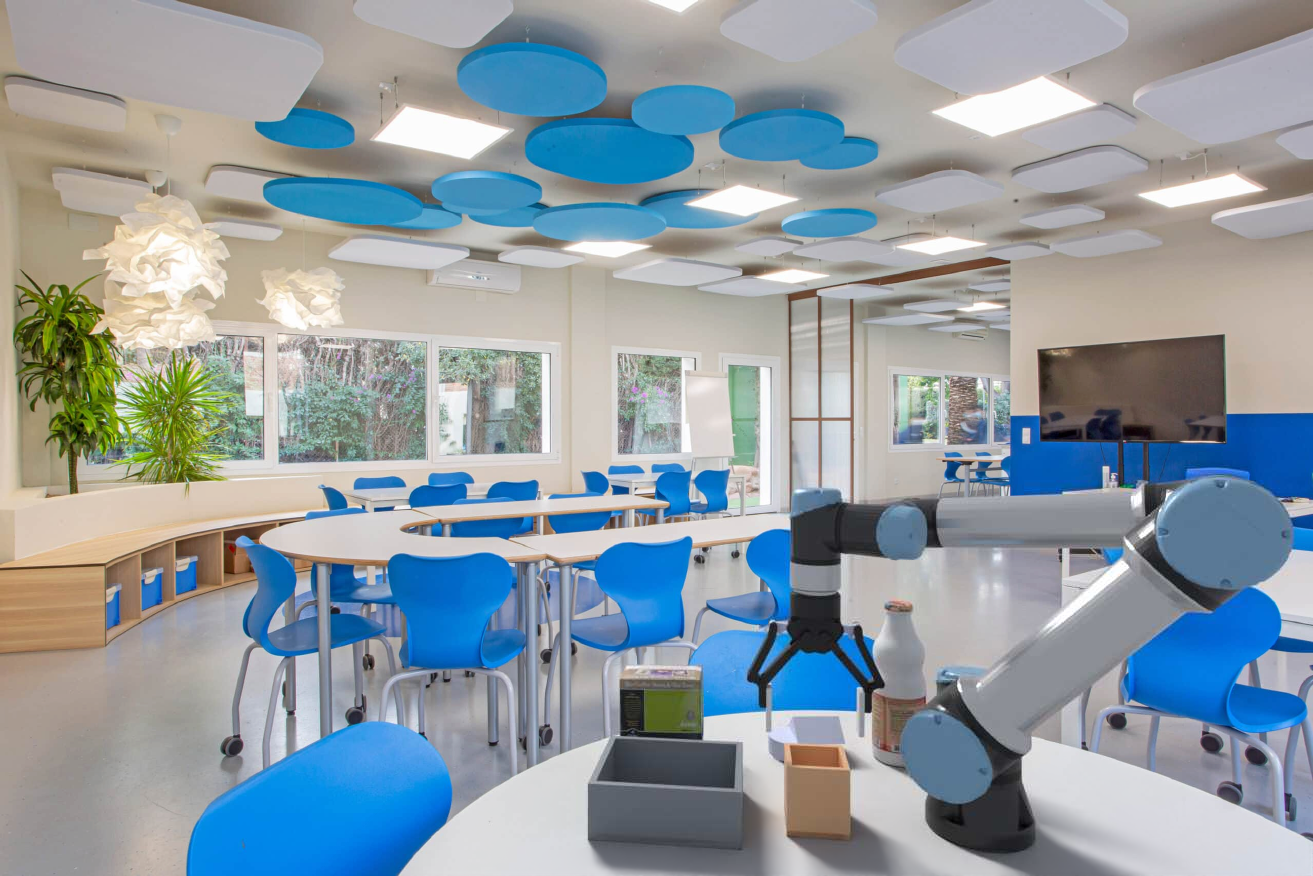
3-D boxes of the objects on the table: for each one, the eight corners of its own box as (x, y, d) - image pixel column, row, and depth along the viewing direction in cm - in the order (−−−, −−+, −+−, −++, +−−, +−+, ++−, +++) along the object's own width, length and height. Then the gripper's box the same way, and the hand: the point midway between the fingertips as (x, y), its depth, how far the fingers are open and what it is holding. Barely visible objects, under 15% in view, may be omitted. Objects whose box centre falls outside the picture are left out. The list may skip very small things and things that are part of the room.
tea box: (704, 741, 144) (704, 664, 145) (702, 763, 134) (702, 680, 135) (626, 738, 146) (626, 661, 146) (618, 759, 136) (618, 677, 136)
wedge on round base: (832, 743, 144) (764, 743, 143) (832, 707, 144) (764, 708, 143) (845, 763, 135) (773, 763, 134) (845, 725, 135) (773, 726, 134)
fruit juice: (861, 755, 138) (860, 602, 138) (893, 743, 143) (892, 596, 144) (905, 773, 130) (904, 611, 130) (937, 760, 136) (936, 604, 136)
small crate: (842, 810, 117) (842, 745, 117) (850, 840, 108) (850, 770, 108) (784, 806, 118) (784, 742, 118) (786, 836, 109) (786, 767, 109)
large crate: (742, 791, 123) (742, 742, 123) (741, 849, 106) (741, 792, 106) (610, 783, 126) (610, 735, 126) (587, 839, 108) (587, 783, 108)
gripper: (895, 588, 116) (894, 726, 116) (732, 583, 119) (731, 717, 119) (905, 598, 108) (904, 746, 108) (731, 592, 111) (730, 736, 111)
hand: (814, 731), depth 113 cm, fingers open, 13 cm apart
